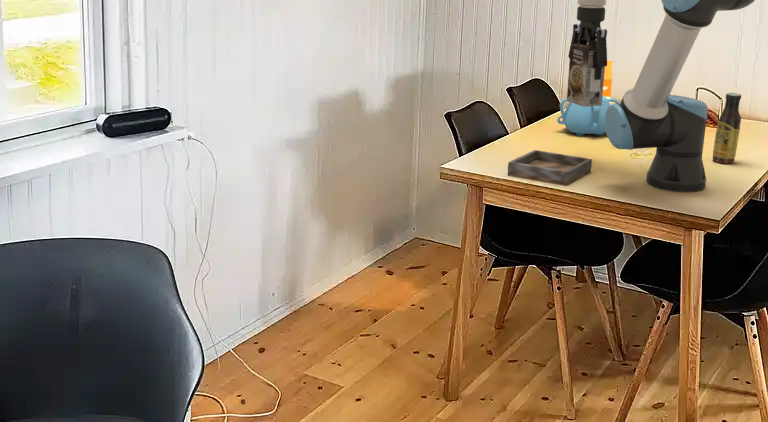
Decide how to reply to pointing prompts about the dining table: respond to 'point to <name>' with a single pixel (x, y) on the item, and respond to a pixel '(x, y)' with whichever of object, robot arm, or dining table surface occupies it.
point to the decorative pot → (585, 117)
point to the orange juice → (607, 80)
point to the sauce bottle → (728, 130)
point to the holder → (550, 167)
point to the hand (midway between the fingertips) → (585, 88)
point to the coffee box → (583, 77)
